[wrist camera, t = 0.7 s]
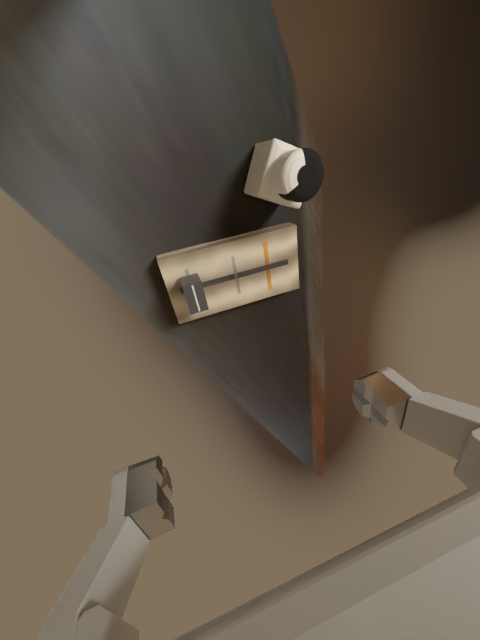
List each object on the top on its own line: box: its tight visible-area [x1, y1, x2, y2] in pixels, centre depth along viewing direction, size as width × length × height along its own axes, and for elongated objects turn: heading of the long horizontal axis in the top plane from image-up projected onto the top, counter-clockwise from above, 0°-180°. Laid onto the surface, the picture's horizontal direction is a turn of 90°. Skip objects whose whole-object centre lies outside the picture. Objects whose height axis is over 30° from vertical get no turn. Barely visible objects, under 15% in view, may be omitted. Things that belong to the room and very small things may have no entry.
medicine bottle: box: [244, 138, 324, 209], centre depth 37 cm, size 7×7×12 cm
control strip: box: [156, 222, 299, 324], centre depth 47 cm, size 12×24×3 cm, turn 100°
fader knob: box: [180, 273, 209, 315], centre depth 42 cm, size 5×3×4 cm, turn 10°
